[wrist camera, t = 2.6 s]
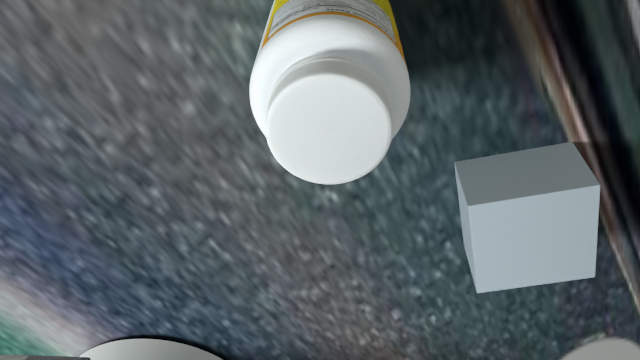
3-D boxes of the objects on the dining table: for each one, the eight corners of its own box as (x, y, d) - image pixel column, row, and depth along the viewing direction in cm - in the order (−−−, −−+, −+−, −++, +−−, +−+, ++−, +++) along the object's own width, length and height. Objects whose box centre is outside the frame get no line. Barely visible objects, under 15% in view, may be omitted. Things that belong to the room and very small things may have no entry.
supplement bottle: (350, 97, 28) (354, 230, 19) (250, 40, 26) (207, 158, 18) (418, 1, 25) (457, 108, 17) (310, -70, 23) (294, 10, 15)
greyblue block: (568, 227, 32) (594, 277, 29) (463, 243, 33) (476, 293, 30) (571, 139, 29) (600, 184, 26) (453, 160, 30) (467, 206, 27)
